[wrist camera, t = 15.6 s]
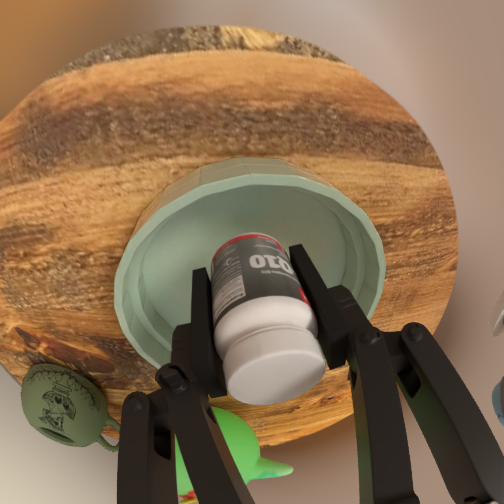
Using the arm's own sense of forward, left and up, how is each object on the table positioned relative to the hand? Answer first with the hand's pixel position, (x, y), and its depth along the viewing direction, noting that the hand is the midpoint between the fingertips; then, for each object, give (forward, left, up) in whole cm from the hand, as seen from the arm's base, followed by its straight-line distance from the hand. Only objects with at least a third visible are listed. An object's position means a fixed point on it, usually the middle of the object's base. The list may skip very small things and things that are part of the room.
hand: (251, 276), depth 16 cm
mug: (+27, +17, -6) cm, 32 cm away
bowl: (0, +4, -5) cm, 7 cm away
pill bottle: (0, 0, -1) cm, 1 cm away
